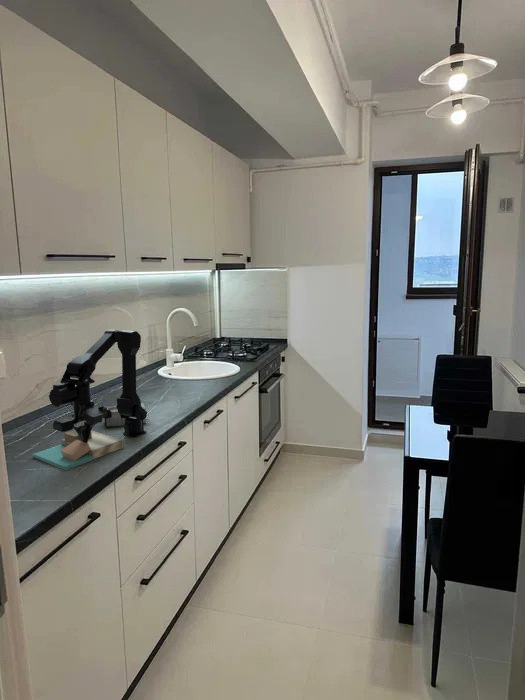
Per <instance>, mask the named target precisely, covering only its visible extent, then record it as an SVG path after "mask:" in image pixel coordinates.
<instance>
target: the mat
mask: <svg viewBox="0 0 525 700" xmlns="http://www.w3.org/2000/svg"><path fill="white" fill-rule="evenodd" d="M65 447H66V446H63V445H62V444H59V445H56V446H53V447H49V448H47V449H44V450H41V451H38V452H34V453H33V454H32V457H33V458H34V459H37V460H40V461H41V462H44V463H47V464H49V465H52V466H54V467H56V468H58V469H61V470H64V471H68V470H71V469H73V468H75V467H78V466H81V465H83V464H86V463H88V462H91V461H94V459H93V456H91V455H88V454H84V455H82V456H81V457H80V458H78V459H77V460H75V461H73V460H70V459H67V458H65V457H63V456H62V454H61V450H62V449H64V448H65Z"/></svg>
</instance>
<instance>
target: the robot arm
mask: <svg viewBox="0 0 525 700" xmlns="http://www.w3.org/2000/svg"><path fill="white" fill-rule="evenodd" d="M141 340H142V336H141V334H140V333H139V332H138V331H136V330H117V329H107V330H105V331H104V333H103V335H101V337H100V338H98V340H96V341H95V343H94V344H92V346H91V347H89V348H88V350H87V351H86V352H85V353H83V354H82V355H79V356H76V357H75V358H73V359H72V360H71V361H69V362H68V363H67V365H66V368H65V371H64V373H63V375H62V378H61V379H60V383H57V384H53V385H52V389H51V390H50V392H49V395H48V398H49V402H50V403H51V405H52V406H54V407H55V408H56V407H61V406H63V405H67V404H70V406H72V409H73V410H72V412H73V413H71V415H70V416H71V419H69V418H66V417H63V418H62V417H61V418H58V419H56V420H54V421H53V423H52V428H53V430H56V431H58V432H61V433H66V432H69V431H72V430H75V431H76V432H77V433H78V435H79V437H80V438H81V440H82V442H85V443H88V439H89V436H90V432H91V430H92V429H93V428H94V426H95V425H98V424H101V423H103V420H104V419H107V418H110V417H112V412H111V410H110V409H107V407H108V406H105V405H101V406H95V402H94V400H92V399H91V398H92V396H91V395H92V394H91V386H90V385H91V384H94V383H96V380H94V379H93V378H92V377H91V376H92V374H93V373H94V372H95V370H96V367H97V366H96V365H97V363H98V362H99V361H100V360H101V359H102V358H103V356H105V355H106V353H107V352H108V351H109V350H110V349H111V348H112V347H113V346H114V345H115V344H116V343H117V348H118V350H119V352H120V354H121V364H122V365H121V372H122V373H121V376H122V377H121V379H122V381H121V383H122V385H121V386H122V389H121V391H122V393H121V395H120V397H117V398H116V406H117V407H116V409H118V413H119V414H120V416H121V418H124V419H125V424H124V425H123V427H124V432H122V434H123V435H125V436H129V437H131V438H136V437H138V436H141V435H144V434H147V432H148V431H147V430H144V429H145V428H144V423H143V420H144V419H145V418H146V419H147V416H148V411H147V410H146V411H145V410H144V409H143V408H142V407H141V403H142V401H141V398H140V397H139V394H138V393H137V354H138V352H139V350H140V348H141V342H142V341H141ZM92 431H93V430H92Z"/></svg>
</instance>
